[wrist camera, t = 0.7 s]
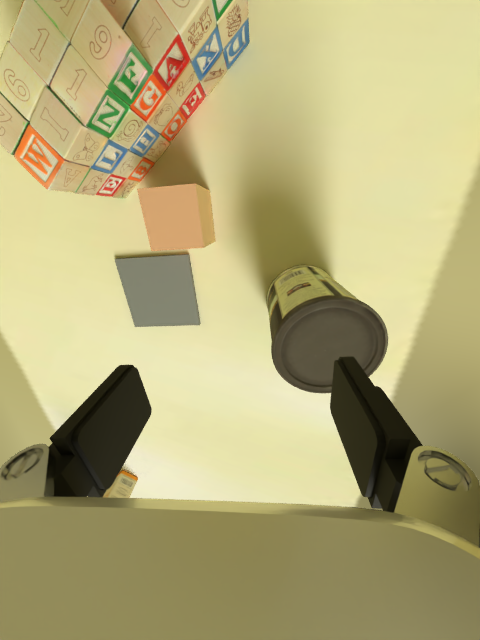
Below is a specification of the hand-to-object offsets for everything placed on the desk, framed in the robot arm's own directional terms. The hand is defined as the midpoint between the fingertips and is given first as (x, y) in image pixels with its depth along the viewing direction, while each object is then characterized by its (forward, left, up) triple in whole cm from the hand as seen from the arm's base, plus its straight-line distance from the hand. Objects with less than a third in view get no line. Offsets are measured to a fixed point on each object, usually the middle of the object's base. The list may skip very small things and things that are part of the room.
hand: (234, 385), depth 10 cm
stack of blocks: (-19, -9, -24) cm, 32 cm away
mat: (+2, -14, -24) cm, 28 cm away
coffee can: (+4, +7, -24) cm, 25 cm away
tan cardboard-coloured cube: (-8, -8, -24) cm, 26 cm away
